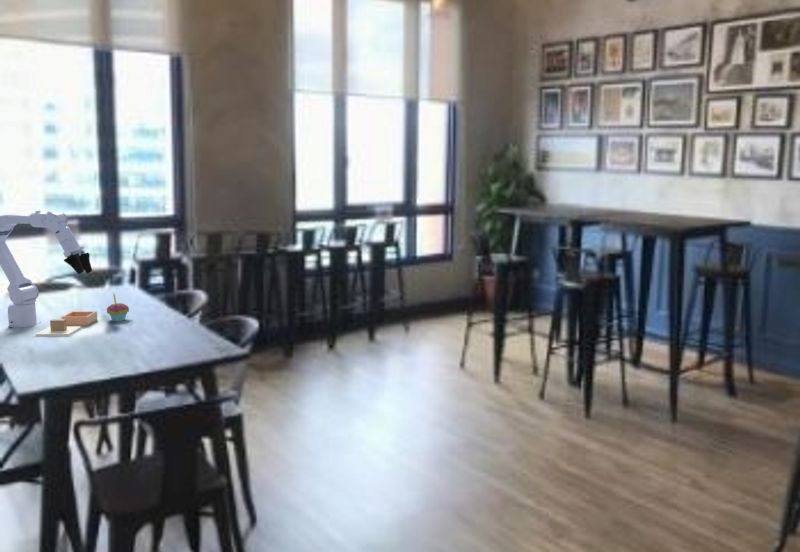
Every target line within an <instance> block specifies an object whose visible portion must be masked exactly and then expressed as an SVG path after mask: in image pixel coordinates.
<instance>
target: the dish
mask: <svg viewBox="0 0 800 552" xmlns="http://www.w3.org/2000/svg"><path fill="white" fill-rule="evenodd" d="M60 319H66V324H67V326H81V327H89V326H90V325H92V324H94V323H96V322H97V321H98V312H97V311H81V310H80V311H70V312H68V313H67V314H64V315H63V316H61V318H60Z"/></svg>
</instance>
